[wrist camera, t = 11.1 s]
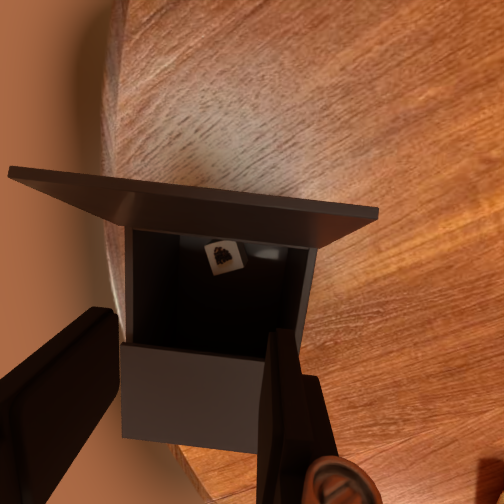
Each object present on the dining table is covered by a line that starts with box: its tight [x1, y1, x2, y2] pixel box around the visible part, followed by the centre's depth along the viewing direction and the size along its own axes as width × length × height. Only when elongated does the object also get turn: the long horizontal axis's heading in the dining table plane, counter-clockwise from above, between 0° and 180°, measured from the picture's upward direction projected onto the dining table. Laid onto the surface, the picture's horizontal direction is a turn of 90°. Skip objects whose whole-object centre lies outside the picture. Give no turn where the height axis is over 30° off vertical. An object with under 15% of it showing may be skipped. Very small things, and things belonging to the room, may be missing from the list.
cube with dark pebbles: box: [204, 239, 248, 276], centre depth 20 cm, size 2×2×2 cm
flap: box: [8, 166, 379, 249], centre depth 10 cm, size 6×9×1 cm
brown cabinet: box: [120, 226, 318, 454], centre depth 18 cm, size 12×9×9 cm
